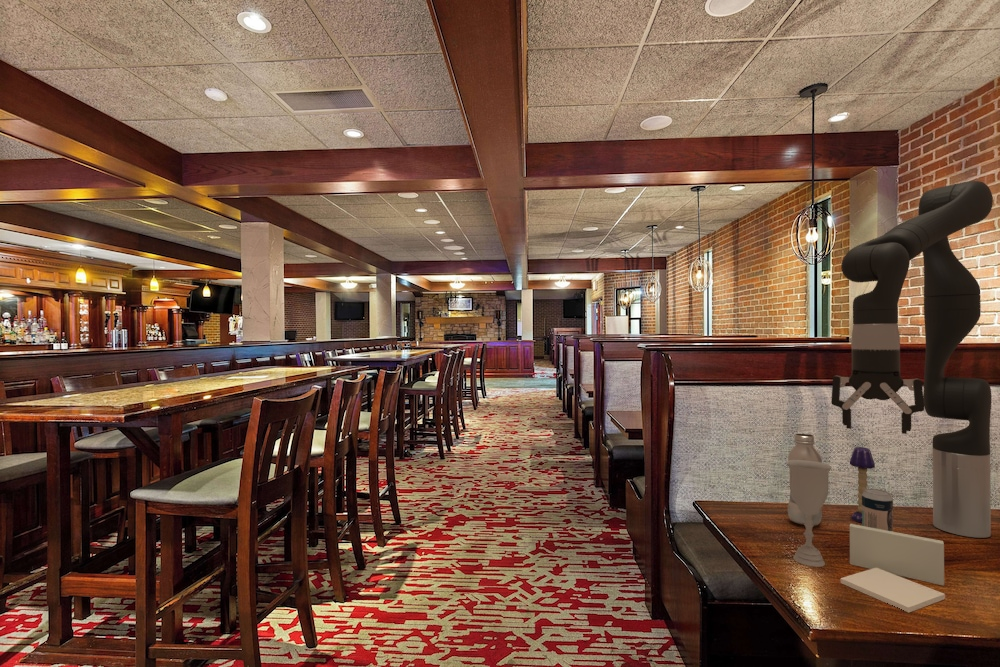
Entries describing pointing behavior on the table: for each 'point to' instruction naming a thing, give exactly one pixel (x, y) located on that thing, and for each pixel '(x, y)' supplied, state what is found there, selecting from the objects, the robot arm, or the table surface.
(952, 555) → the table surface
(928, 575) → the partition
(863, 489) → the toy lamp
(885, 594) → the tile
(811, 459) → the plastic bottle
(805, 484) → the chalice
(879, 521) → the beer can
